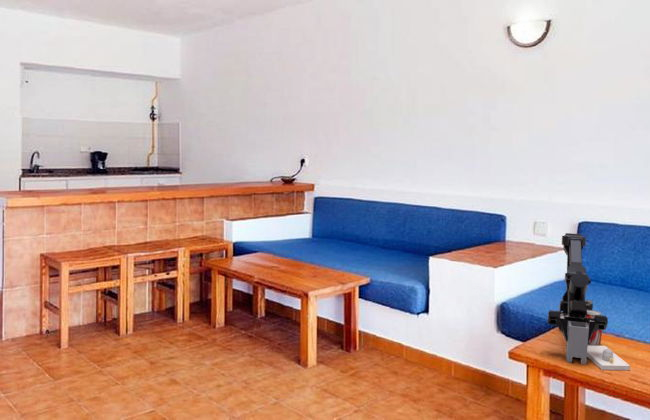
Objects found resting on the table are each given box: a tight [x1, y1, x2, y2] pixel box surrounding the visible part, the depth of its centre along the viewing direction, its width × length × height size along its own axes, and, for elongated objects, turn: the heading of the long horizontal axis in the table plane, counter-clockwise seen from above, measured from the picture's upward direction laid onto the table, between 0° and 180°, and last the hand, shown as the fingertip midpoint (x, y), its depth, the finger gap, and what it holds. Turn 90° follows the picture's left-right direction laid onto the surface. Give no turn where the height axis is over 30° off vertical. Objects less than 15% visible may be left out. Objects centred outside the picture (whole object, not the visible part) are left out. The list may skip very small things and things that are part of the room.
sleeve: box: [565, 321, 589, 365], centre depth 195 cm, size 6×6×12 cm
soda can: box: [586, 309, 603, 346], centre depth 210 cm, size 7×7×12 cm
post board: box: [587, 345, 631, 371], centre depth 196 cm, size 18×9×5 cm, turn 178°
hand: (577, 342), depth 194 cm, fingers closed on sleeve, 6 cm apart
